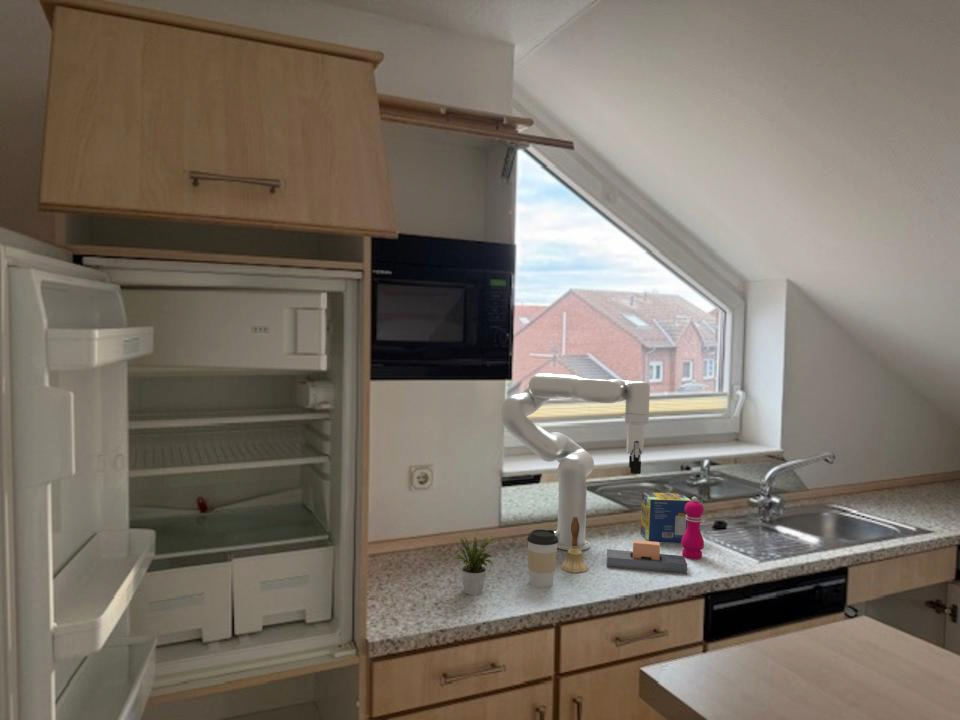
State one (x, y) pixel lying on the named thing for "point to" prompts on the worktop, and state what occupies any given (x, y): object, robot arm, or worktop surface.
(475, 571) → the house plant
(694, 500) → the pepper mill
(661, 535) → the protein box
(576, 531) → the hand bell
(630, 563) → the rail
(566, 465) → the robot arm
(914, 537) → the worktop surface
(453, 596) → the worktop surface
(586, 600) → the worktop surface
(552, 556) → the coffee cup
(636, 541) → the peach arch block
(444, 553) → the worktop surface
